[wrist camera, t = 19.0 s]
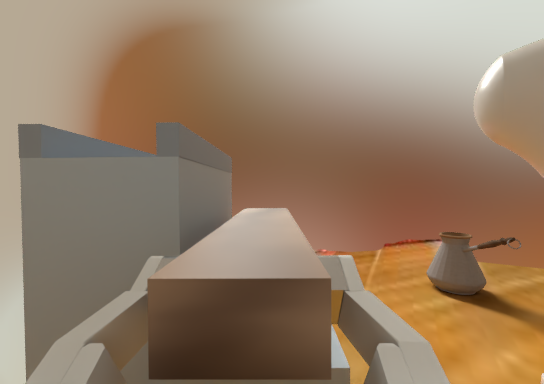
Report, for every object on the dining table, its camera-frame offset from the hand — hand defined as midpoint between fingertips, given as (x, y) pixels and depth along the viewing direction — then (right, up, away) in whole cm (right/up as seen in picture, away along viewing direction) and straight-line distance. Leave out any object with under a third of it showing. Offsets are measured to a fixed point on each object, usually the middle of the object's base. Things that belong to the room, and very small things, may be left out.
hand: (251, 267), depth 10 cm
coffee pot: (+44, -20, +47) cm, 67 cm away
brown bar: (0, -2, +7) cm, 7 cm away
